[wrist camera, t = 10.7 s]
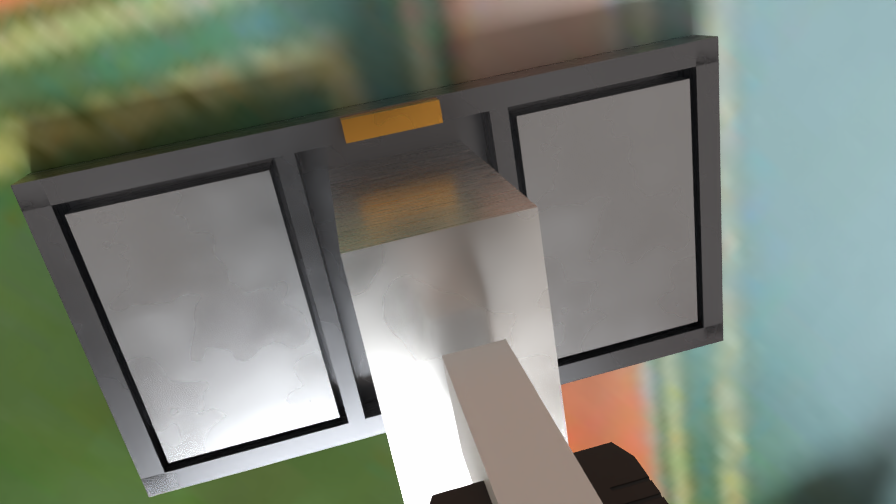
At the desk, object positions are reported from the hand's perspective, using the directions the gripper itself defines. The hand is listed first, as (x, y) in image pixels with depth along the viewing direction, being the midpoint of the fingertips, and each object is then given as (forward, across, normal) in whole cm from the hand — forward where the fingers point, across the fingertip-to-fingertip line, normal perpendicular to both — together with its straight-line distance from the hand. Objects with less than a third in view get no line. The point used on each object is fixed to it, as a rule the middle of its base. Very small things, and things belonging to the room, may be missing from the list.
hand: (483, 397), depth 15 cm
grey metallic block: (+9, 0, 0) cm, 9 cm away
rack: (+9, 0, 0) cm, 9 cm away
